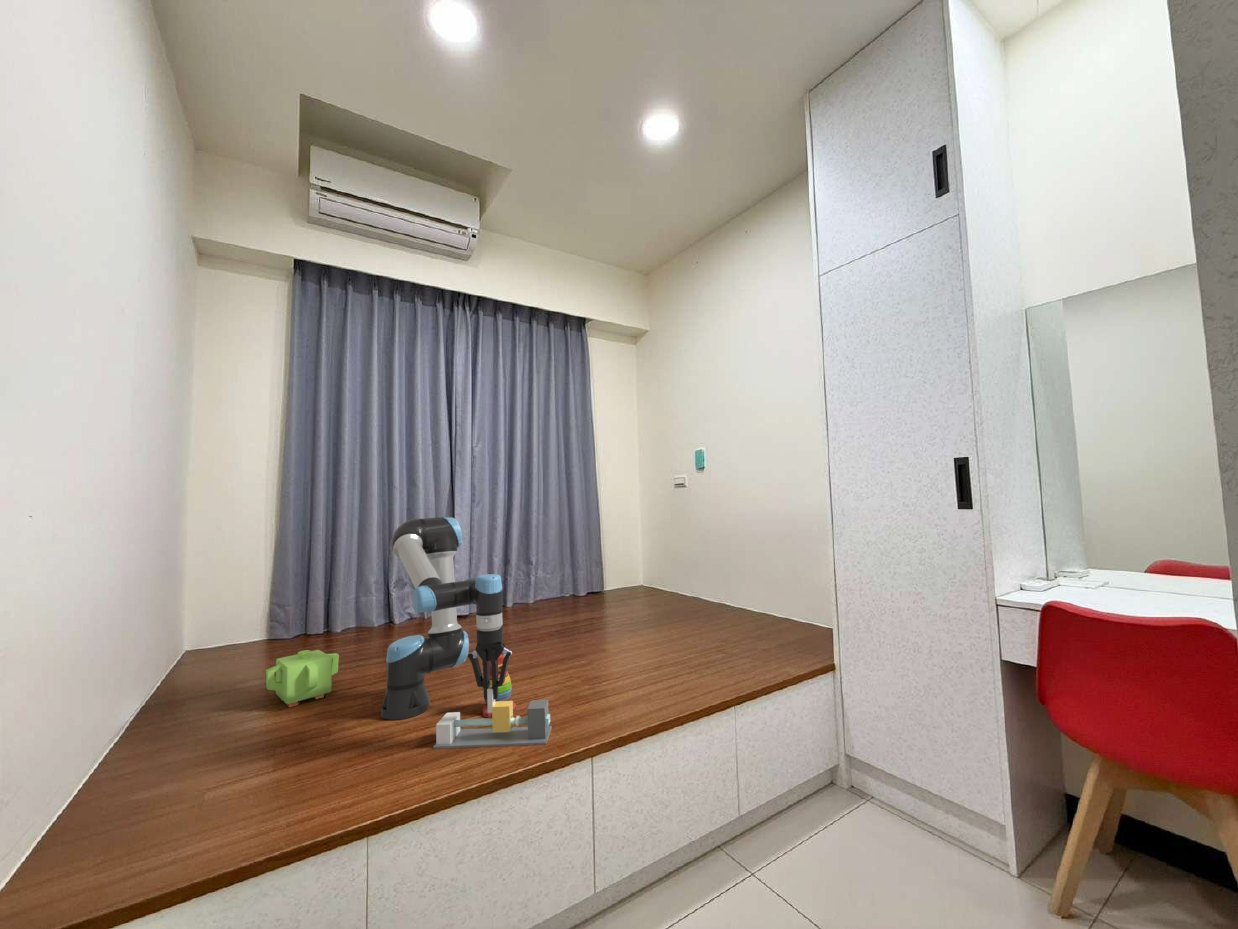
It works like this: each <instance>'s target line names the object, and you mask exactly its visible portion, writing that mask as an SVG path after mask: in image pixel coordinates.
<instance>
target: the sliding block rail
mask: <svg viewBox="0 0 1238 929" xmlns="http://www.w3.org/2000/svg"><path fill="white" fill-rule="evenodd" d="M526 709H527V716H522V717H521V716H520V715H516V716H515V717H513V718H510V725H513V727H512V729H511V731H510V732H493V721H492V718H471V719H470V718H469V719H461V712H460V711H457V712H455V711H454V712H445V714H444V716H442V717H441V719H440V720H439V721H438V722H437V723H436V724H435V730H436V732H435V735H436V736H435V738H436V742H435V744H434V745H433V747H432V748H433V750H435V749H437V750H438V749H462V748H464V749H465V748H466V749H467V748H486V747H487V748H491V747H493V748H494V747H512V746H513V747H515V746H517V747H518V746H539V745H540V746H542V745H544V746H546V745H547V742H548V741H549V737H550V735H551V732H552V728H553V726H552V725H550V724H551V714H550V713H549V699H535V700H534V699H533V700H531V701H530V702H529V705H528V706H527V708H526ZM514 725H515V726H514ZM521 725H527V726H521ZM486 726H492V727H487V728H485V727H486ZM462 727H463V728H462ZM464 727H482V728H464ZM483 727H484V728H483Z"/></svg>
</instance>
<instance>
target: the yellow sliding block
mask: <svg viewBox="0 0 1238 929" xmlns="http://www.w3.org/2000/svg"><path fill="white" fill-rule="evenodd" d="M513 702H514V701H513V700H512V701H496V702H495V704H494V705H493V707H492V717H491V719H492V721H493V725H492V728H493V732H510V731H511V729H512V727H514V725H510V718H514V711H513Z"/></svg>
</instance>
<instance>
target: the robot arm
mask: <svg viewBox="0 0 1238 929" xmlns="http://www.w3.org/2000/svg"><path fill="white" fill-rule="evenodd" d="M462 544H463V532H462V529H461V525H460V523H459V522H458V520H457V519H456V518H455V517H447V516H446V517H445V516H441V517H427V518H412V519H408V520H406V521H405V522H403V523H402V524H400V525H399V526H398V527H397V528H396V529H395V531H394V532H393V534H392V538H391V542H390V545H391V549H392V551H393V554H394V555H395V556H396V557H397V558H399V559H400V561H401V563H402V564H403V567H404V568H405V570H406V572H407V575H408V576H409V579H410V581H411V582H412V583H411V584H413V588H414V589H413V590H412V596H411V600H412V605H413V609H414V611H415V612H416V613H420V614H421V613H431V628H430V629H429V630H428V632H427V638H424V636H423V635H421V634H415V635H409V636H405V637H402V638H399V639H397V640H395V641H394V642H392V643H391V644H389V645H388V647H387V650H386V659H385V661H386V693H385V696H384V698H383V702H382V705H381V708H380V709H381V710H380V711H381V713H380V715H381V718H382V719H385V720H390V721H391V720H393V721H395V720H404V719H405V720H406V719H409V718H413V717H416V716H418V715H421V714H423V713H424V712H427V710H429V709H430V706H431V697H430V695H429V692H428V689H427V687H426V684H425V675H426V674H431V673H435V672H438V671H442V670H446V669H453V668H455V667H457V666H461V665H463V664H464V663H465V661H466V660H467V658H468V659H469V661H470V662H471V666H472V669H473V674H474V678H475V682H476V685H477V687H479V688H480V687H481V688H482V689H483V688H484V696H483V699H484V701H485V700H487V701H488V713H490V712H492V707H493V705H494V704H495V699H497V698H498V687H499V686H502V684H503V683H504V681H505V676H506V671H508V667H509V661H510V658H511V656H512V654H513V650H512V649H510V650H509V649H508V648H506V646H505V643H504V630H503V627H502V626H503V624H504V623H503V620H504V619H503V585H502V577H501V575H500V574H496V573H494V574H493V573H488V574H481V575H478V576H477V577H469V578H466V579H464V580H460V581H459V580H458V581H455V566H454V565H455V564H454V556H455V555H456V554H457V553H458V548H460V547H461V546H462ZM469 605H475V608H476V609H475V611H476V614H475V615H476V620H475V621H476V629H477V631H476V646H475V650H473V651H471V652H469V650H470V649H469V648H470V641H469V635H468V633H467V632H466V631H465V630H463V628H462V626H461V624H460V623H458V617H457V615H458V614H457V608H459V607H464V606H469ZM501 653H503V657H504V659H503V663H502V668H501V673H500V678H499V680H498V658H499V657H500V655H501ZM478 657H479V658H480V659H481V661H482V662H481V663H482V668H481V665H480V662H479V658H478ZM490 661H491V665H492V686H490V687H489V685H490V684H491V683H490Z"/></svg>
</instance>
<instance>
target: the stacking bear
mask: <svg viewBox="0 0 1238 929" xmlns="http://www.w3.org/2000/svg"><path fill="white" fill-rule="evenodd" d="M503 659H504V657H503V652H502V653H501V655H500V657H499V658H498V680H499V678H500V673H501V668H502V663H503ZM490 683H491V684H490V685H489V687H490V686H492V665H491V661H490ZM512 686H513V684H512V680H511V677H510V674H509V671H508V670H507V671H506V676H505V681H504V683H503V684H502V686H499V687H498V698H497V699H495V702H496V701H513V700H511V697H512V689H513V688H512ZM482 695H483V697H484V688H483V687H482ZM484 703H485V704H484V705H483V707H482V715H483V717H485V718H492V712H490V713H488V701H487V700H485V699H484ZM516 710H517V704H516V703H515V702H514V701H513V712H515V711H516Z"/></svg>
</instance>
